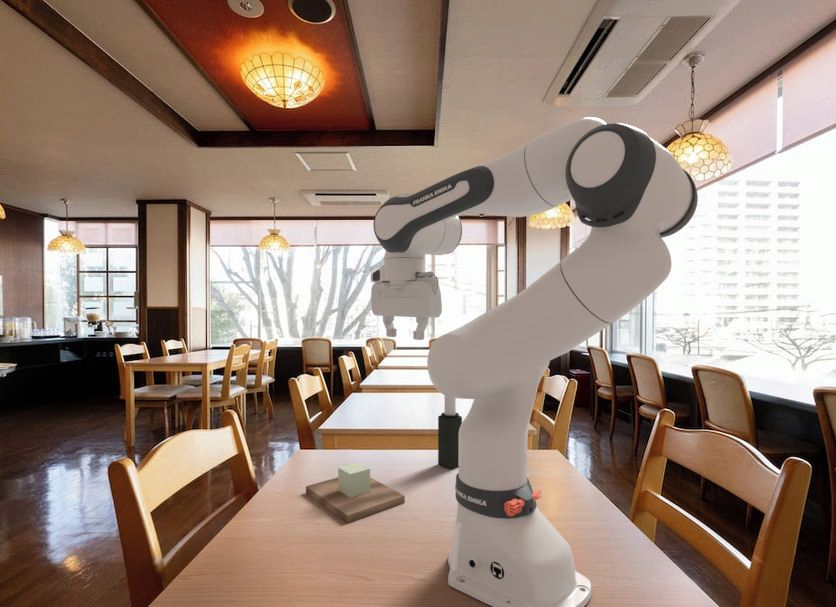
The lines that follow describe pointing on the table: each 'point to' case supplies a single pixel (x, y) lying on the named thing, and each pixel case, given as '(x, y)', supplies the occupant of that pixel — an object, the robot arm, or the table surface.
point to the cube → (354, 479)
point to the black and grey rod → (449, 435)
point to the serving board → (354, 499)
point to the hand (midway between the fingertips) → (404, 338)
